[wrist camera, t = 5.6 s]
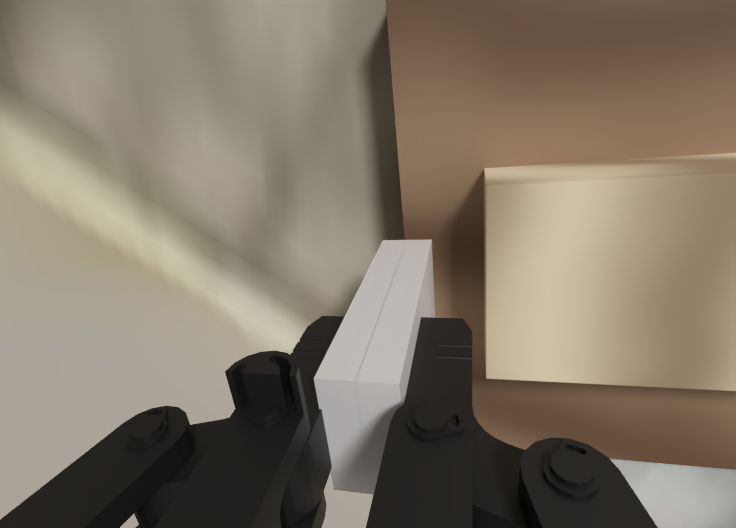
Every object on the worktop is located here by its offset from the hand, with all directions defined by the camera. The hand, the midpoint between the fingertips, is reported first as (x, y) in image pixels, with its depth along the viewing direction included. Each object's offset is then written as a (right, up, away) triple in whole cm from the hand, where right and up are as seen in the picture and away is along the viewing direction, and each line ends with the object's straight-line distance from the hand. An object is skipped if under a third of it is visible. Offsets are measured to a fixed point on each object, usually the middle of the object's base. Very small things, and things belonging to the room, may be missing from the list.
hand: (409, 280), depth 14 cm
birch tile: (+7, +1, -1) cm, 7 cm away
